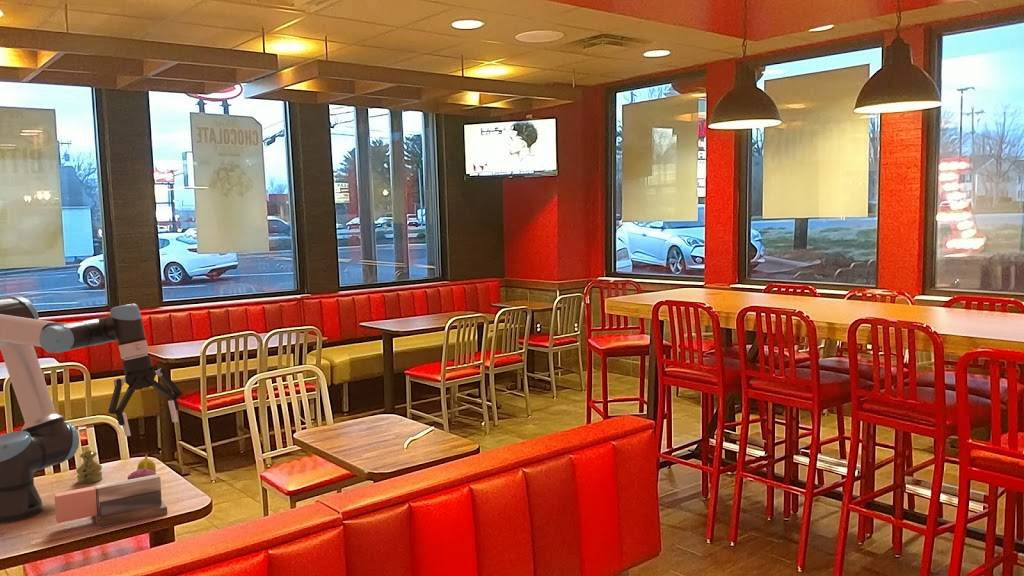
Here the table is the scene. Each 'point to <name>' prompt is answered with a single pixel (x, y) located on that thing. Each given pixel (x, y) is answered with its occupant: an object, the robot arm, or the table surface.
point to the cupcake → (142, 472)
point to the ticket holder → (129, 500)
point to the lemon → (149, 465)
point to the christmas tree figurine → (89, 469)
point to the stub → (75, 504)
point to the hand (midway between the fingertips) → (152, 428)
